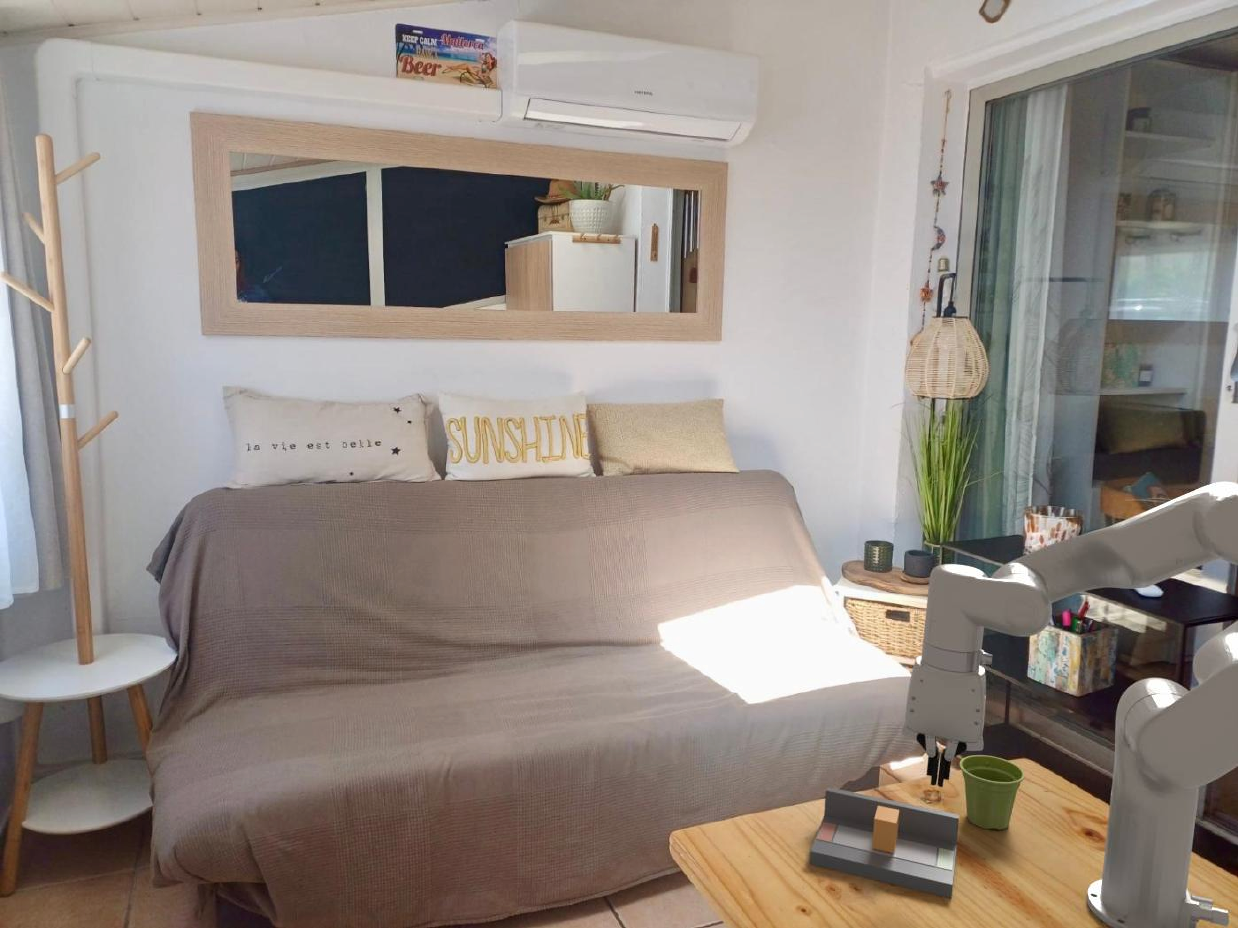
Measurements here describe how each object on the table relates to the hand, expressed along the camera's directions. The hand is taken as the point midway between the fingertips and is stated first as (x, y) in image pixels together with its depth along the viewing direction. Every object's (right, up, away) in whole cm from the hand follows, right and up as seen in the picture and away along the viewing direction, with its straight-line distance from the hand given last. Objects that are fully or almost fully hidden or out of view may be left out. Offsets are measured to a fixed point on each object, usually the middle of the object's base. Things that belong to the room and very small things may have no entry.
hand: (937, 781), depth 128 cm
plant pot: (+13, -12, +16) cm, 24 cm away
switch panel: (-6, -13, +4) cm, 15 cm away
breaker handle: (-6, -10, +4) cm, 13 cm away
